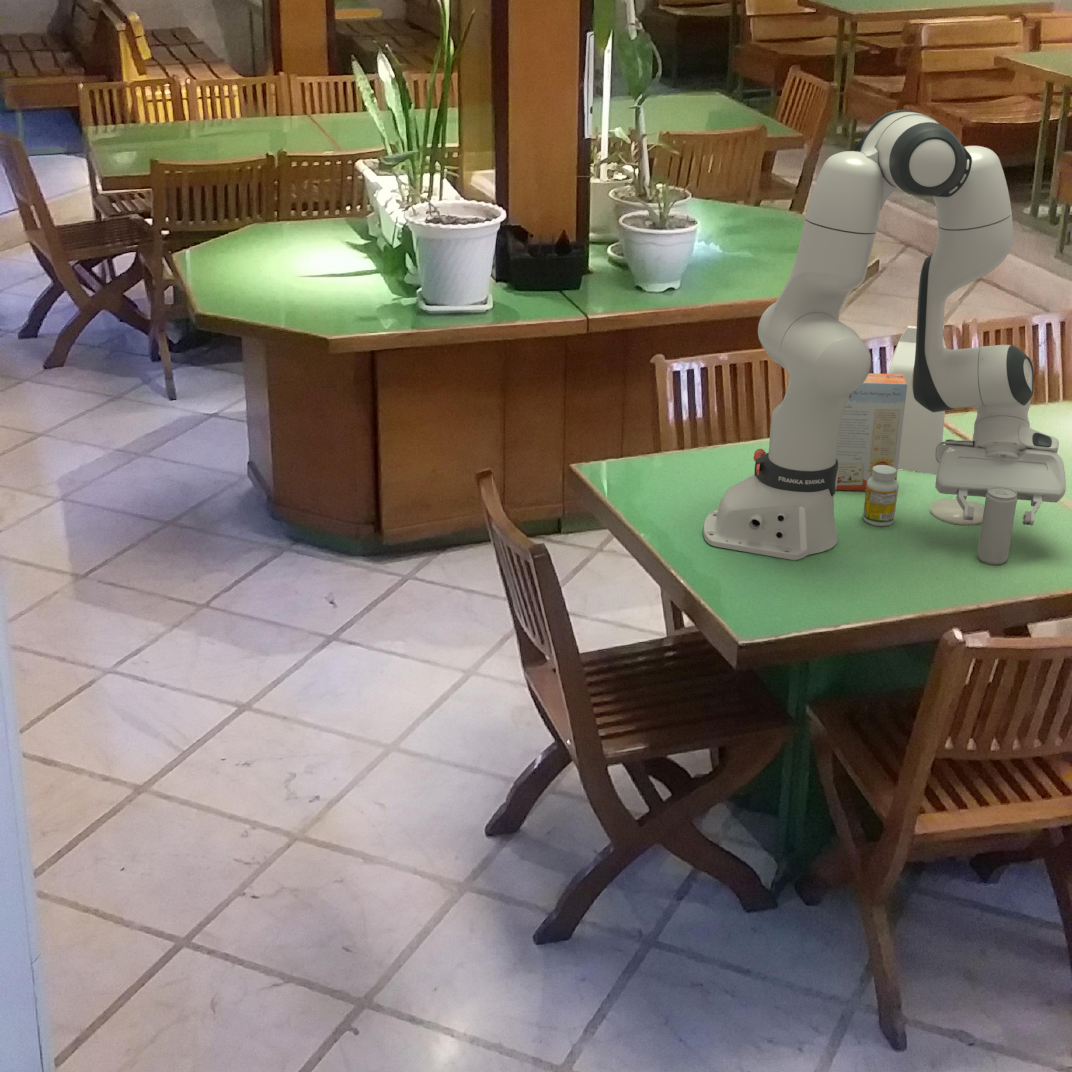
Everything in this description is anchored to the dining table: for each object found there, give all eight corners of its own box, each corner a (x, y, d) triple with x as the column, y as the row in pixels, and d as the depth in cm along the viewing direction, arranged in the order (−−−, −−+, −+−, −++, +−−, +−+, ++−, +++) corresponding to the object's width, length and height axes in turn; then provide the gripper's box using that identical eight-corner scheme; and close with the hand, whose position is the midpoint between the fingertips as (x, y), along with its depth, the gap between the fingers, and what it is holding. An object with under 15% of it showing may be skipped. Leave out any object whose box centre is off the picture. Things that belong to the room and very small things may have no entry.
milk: (872, 466, 275) (888, 333, 264) (878, 445, 285) (893, 316, 274) (938, 474, 272) (956, 340, 261) (941, 452, 282) (959, 322, 271)
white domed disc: (931, 522, 252) (931, 519, 251) (928, 499, 261) (929, 496, 260) (991, 527, 250) (991, 524, 250) (986, 504, 259) (986, 501, 259)
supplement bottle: (888, 529, 249) (894, 477, 245) (858, 522, 252) (863, 471, 247) (898, 518, 253) (904, 467, 249) (868, 511, 256) (874, 461, 252)
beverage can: (1008, 567, 236) (1019, 499, 231) (977, 564, 237) (987, 496, 232) (1005, 554, 240) (1016, 487, 235) (975, 551, 241) (985, 485, 236)
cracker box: (891, 480, 269) (904, 372, 260) (895, 493, 263) (909, 383, 254) (814, 477, 270) (825, 369, 261) (817, 490, 264) (827, 380, 255)
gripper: (938, 430, 239) (934, 508, 234) (1068, 440, 235) (1067, 519, 231) (934, 446, 245) (929, 522, 240) (1060, 455, 241) (1059, 533, 237)
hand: (998, 521), depth 236 cm, fingers open, 8 cm apart
